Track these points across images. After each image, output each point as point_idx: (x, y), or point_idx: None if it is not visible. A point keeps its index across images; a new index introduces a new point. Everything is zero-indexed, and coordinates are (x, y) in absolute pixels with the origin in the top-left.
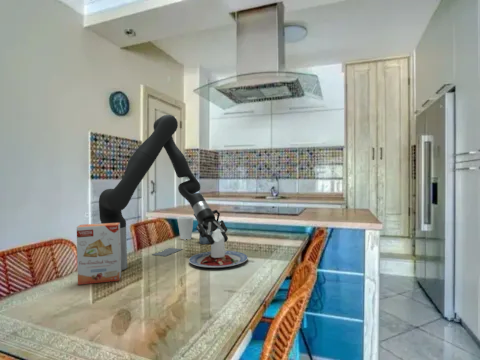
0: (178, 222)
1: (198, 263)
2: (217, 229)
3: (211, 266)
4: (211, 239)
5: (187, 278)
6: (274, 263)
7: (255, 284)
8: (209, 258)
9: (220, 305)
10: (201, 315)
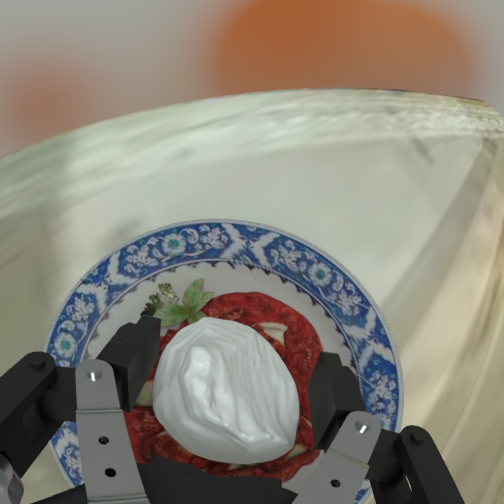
0: None
1: None
2: (211, 401)
3: (374, 304)
4: (342, 380)
5: (471, 316)
6: (121, 148)
7: (349, 117)
8: None
9: (464, 140)
10: (495, 151)
